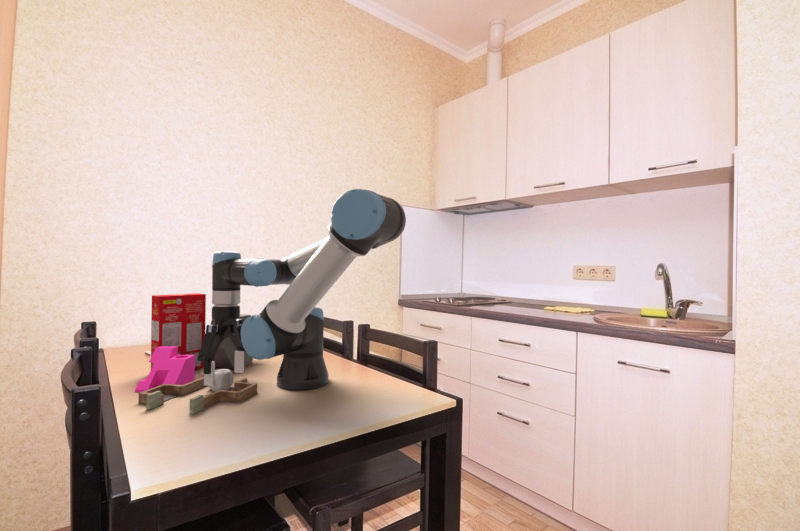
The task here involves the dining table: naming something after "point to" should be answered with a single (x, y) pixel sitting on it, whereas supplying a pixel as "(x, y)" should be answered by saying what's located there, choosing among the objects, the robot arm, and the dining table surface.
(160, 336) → the food packaging
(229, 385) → the die
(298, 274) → the robot arm
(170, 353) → the bracket
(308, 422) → the dining table surface
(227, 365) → the planter
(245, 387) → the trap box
